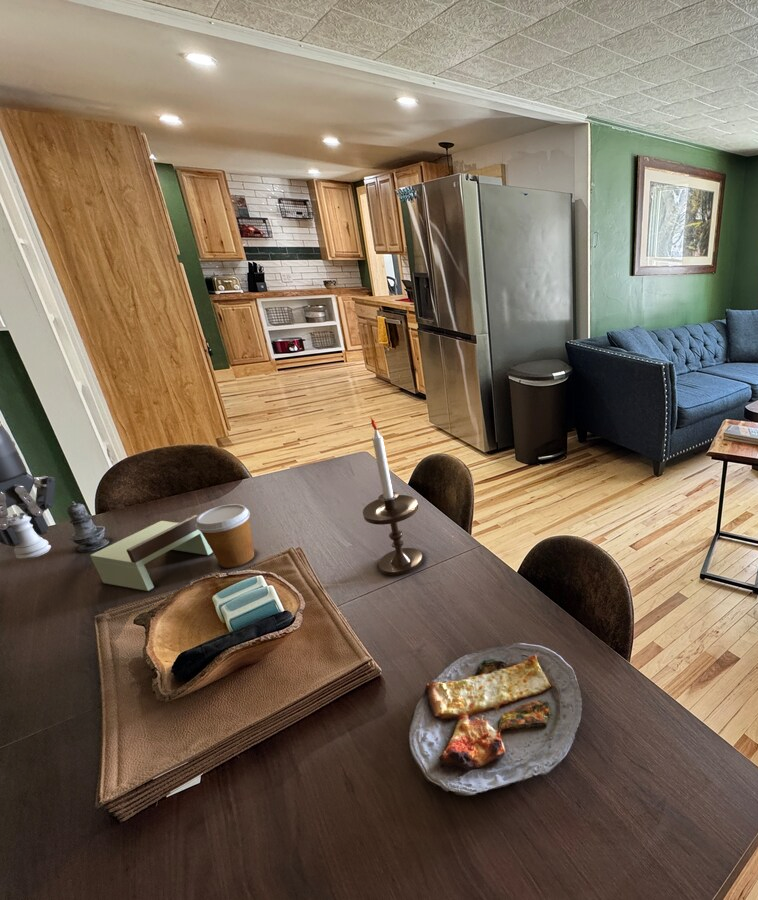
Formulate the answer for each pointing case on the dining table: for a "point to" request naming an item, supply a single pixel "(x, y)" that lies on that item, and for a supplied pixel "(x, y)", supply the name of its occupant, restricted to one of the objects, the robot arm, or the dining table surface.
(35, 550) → the rook chess piece
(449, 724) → the food plate
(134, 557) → the shelf
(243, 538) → the disposable coffee cup
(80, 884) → the dining table surface
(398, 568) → the candlestick
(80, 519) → the grey upright piece
